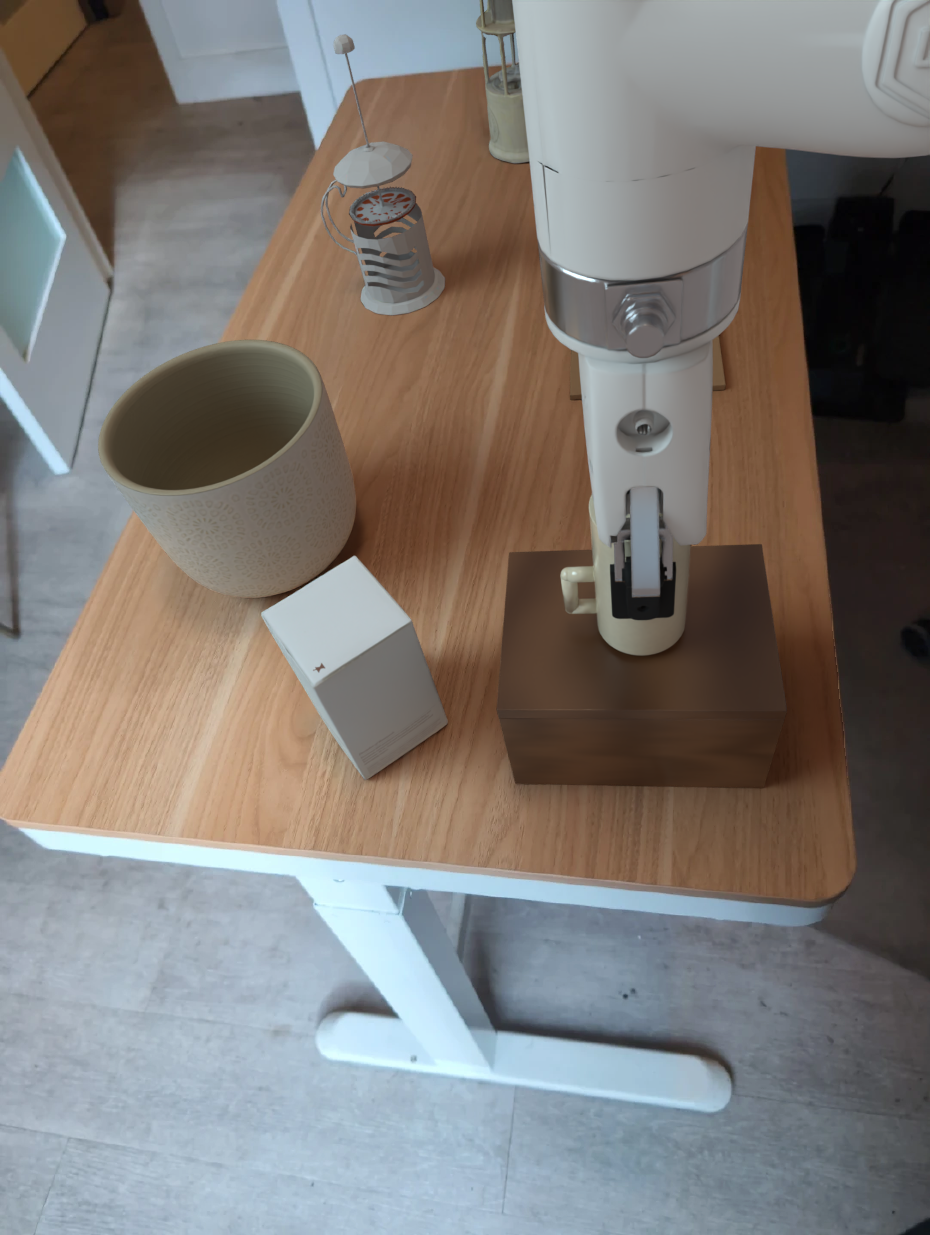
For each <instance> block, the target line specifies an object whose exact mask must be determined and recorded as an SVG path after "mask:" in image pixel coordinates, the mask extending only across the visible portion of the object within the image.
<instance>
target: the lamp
mask: <svg viewBox="0 0 930 1235" xmlns="http://www.w3.org/2000/svg"><path fill="white" fill-rule="evenodd" d="M486 3H487V4H486V10H485V6H484V5H485V4H484V0H479V10H480V15H479V16H478V17H477V19H476V21H475V27H476V28H477V30H479V31H480V34H481V50H482V65H483V73H484V82H485V85H484V86H485V96H486V104H487V106H486V110H487V119H488V128H489V137H490V139H489V142H488V150H489V153H490V155H491V156H492V157H493V158H494V159H497V160H500V161H502V162H508V163H511V164H522V163H530V161H529V151H528V141H527V132H526V123H525V114H524V105H523V95H522V86H521V77H520V68H519V61H518V62H517V63H516V46H515V34H516V31H515V21H514V12H513V3H512V0H487V2H486ZM485 35H488V36H494V37H496V38H497V41H498V43H499V55H500V61H501V69H500V70H498V71H497V72H495V73H493V74H492V75H491V76H490V74H489V61H488V60H489V59H488V53H487V52H488V51H487V45H486V44H487V43H486V40H487V37H485ZM507 36H509V43H510V52H511V54H510V55H511V65H510V66H508V67H507V63H506V62H507V61H506V60H507V58H506V57H507V56H506V50H505V41H504V38H505V37H507Z"/></svg>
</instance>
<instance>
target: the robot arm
mask: <svg viewBox="0 0 930 1235" xmlns="http://www.w3.org/2000/svg"><path fill="white" fill-rule="evenodd" d="M512 3H513V12H514V21H515V31H516V33H515V38H516V39H515V40H516V47H517V57H518V62H519V68H520V77H521V86H522V95H523V105H524V114H525V123H526V132H527V141H528V151H529V169H530V170H529V171H530V180H531V190H532V199H533V201H532V202H533V211H534V220H535V221H534V222H535V230H536V240H537V248H538V259H539V268H540V269H539V270H540V278H541V287H542V296H543V298H542V299H543V303H544V314H545V315H544V317H545V320H546V324H547V327H548V329H549V331H550V333H551V334H552V335H553V337H554V338H555V339H556V340H557V341H558V342H559V343H560V344H562V345H563V346H565V347H566V348H568V349H569V350H570V351H571V350H573V351H575V352H577V353H578V357H579V370H580V382H581V393H582V399H581V403H582V414H583V426H584V428H583V429H584V435H585V445H586V454H587V463H588V471H589V478H590V480H589V481H590V488H591V495H592V496H593V503H594V509H595V516H596V524H597V530H598V536H599V539H600V540H601V541H602V542H603V543H604V544H605V545H607V546H608V547H610V548H612V543H614V564H610V583H611V604H612V616H613V617H614V618H616V619H633V620H652V619H655V618H669V617H671V616H673V615H674V605H675V585H676V562H673V537H674V538H675V540H676V541H677V543H678V544H679V545H680V546H682V545H691V546H697V545H699V544H701V542H702V541H703V540H704V538H705V537H706V536H707V532H708V530H707V527H708V526H707V525H708V499H709V497H708V496H709V481H710V480H709V478H710V459H711V441H712V439H711V437H712V419H713V418H712V417H713V416H712V415H713V391H712V388H713V341H712V340H713V339H714V338H716V337H717V336H718V335H721V334H722V333H723V332H724V331H725V330H727V329H728V327H729V326H730V325H731V324H732V322H733V321H734V319H735V317H736V315H737V313H738V311H739V309H740V302H741V296H742V285H743V284H742V283H743V274H744V267H745V266H744V264H745V256H746V246H747V236H748V227H749V215H750V206H751V196H752V190H753V189H752V188H753V177H754V168H755V160H756V159H755V158H756V149H757V147H759V148H769V149H780V150H783V149H784V150H792V151H800V152H802V151H803V152H807V153H808V152H809V153H818V154H824V155H825V154H826V155H834V156H845V157H854V158H870V159H871V158H872V159H873V158H875V159H899V158H900V159H903V158H915V157H925V156H926V157H927V156H930V0H512ZM659 513H660V514H663V516H659ZM627 514H630V518H626V516H627ZM659 539H661V558H660V548H659ZM625 540H631V556H626V562H625Z"/></svg>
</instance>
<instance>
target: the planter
mask: <svg viewBox="0 0 930 1235" xmlns="http://www.w3.org/2000/svg"><path fill="white" fill-rule="evenodd" d="M97 452H98V457H99V458H98V459H99V461H100V463H101V466H102V468H103V470H104V472H105V473H106V475H107V476H108V478H109V479H110V480H111V482H112V483H113V485H114V487H116V489H117V491H118V492H119V493H120V494H121V496H122V498H124V500H125V501H126V503H127V504H128V506H129V507H130V508H131V509H132V510H133V512H134V513H135V514H136V516H137V518H139V520H140V521H141V522H142V524H143V525H144V527H145V528H146V529H147V531H148V532H149V534H150V535H151V536H152V538H153V539H154V540H155V541H156V544H158V545H159V547H160V548H161V549H162V550H163V551H164V553H165V554H166V555H167V556H168V557H169V559H170V560H171V561H172V562H173V563H174V564H175V565H176V566H177V567H178V568H179V569H180V570H181V571H182V572H183V573H184V574H185V575H187V576H188V577H189V578H190V579H191V580H193V581H194V582H195V583H197V584H199V585H200V586H201V587H204V588H205V589H207V590H211V591H212V592H215V593H218V594H220V595H224V596H228V597H234V598H240V599H241V598H244V599H253V598H254V599H257V598H266V597H272V596H276V595H280V594H283V593H286V592H289V591H292V590H294V589H297V588H299V587H300V586H303V585H305V584H306V583H308V582H309V581H310V582H311V580H314V579H315V578H316V577H318V575H320V574H321V573H322V572H324V571H325V570H326V569H327V568H328V567H329V566H330V565H331V564H332V563H333V562H334V561H335V559H336V558H337V557H338V556H339V555H340V553H341V552H342V550H343V549H344V547H345V546H346V543H347V541H349V538H350V536H351V534H352V530H353V527H354V523H355V520H356V511H357V495H356V494H357V493H356V488H355V487H356V486H355V482H354V476H353V475H354V474H353V471H352V467H351V464H350V460H349V456H348V454H347V453H348V452H347V450H346V446H345V443H344V440H343V436H342V434H341V431H340V428H339V426H338V422H337V419H336V416H335V413H334V409H333V406H332V403H331V400H330V397H329V393H328V391H327V388H326V384H325V382H324V380H323V377H322V375H321V372H320V370H319V369H318V367H317V366H316V364H315V363H314V362H313V360H312V359H311V358H310V357H309V356H307V354H305V353H304V352H302V351H300V350H299V349H297V348H295V347H293V346H290V345H288V344H284V343H282V342H279V341H278V342H277V341H274V340H273V341H272V340H265V339H237V340H236V339H235V340H228V341H222V342H217V343H212V344H208V345H204V346H201V347H197V348H194V349H191V350H189V351H186V352H184V353H182V354H180V355H177V356H175V357H173V358H171V359H169V360H167V361H165V362H163V363H161V364H160V365H158V366H156V367H154V368H153V369H152V370H150V371H148V372H147V373H146V374H144V375H143V376H141V377H140V378H139V379H138V380H136V381H135V382H134V383H133V384H132V385H130V387H128V388H127V390H125V392H124V393H122V395H121V396H120V397H118V399H117V400H116V401H115V403H114V404H113V406H112V407H111V408H110V410H109V411H108V412H107V415H106V416H105V419H104V421H103V423H102V425H101V427H100V431H99V434H98V440H97Z"/></svg>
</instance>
